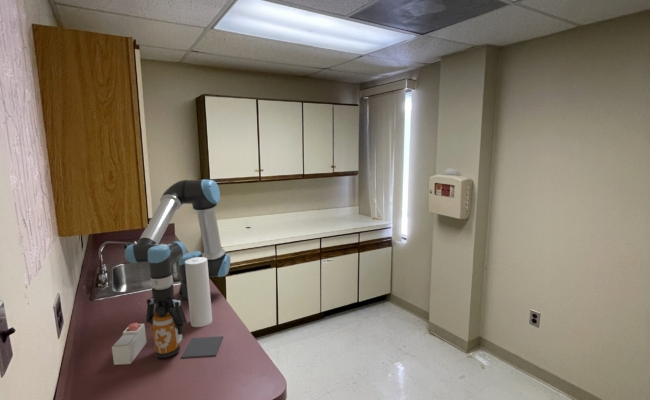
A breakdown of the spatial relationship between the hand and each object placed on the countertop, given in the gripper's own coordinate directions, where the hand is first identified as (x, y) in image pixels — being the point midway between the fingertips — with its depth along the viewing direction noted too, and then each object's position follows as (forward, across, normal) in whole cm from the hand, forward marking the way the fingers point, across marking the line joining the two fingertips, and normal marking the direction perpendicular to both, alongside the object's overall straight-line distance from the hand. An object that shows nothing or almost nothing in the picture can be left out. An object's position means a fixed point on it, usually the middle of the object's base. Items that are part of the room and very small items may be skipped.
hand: (168, 340), depth 136 cm
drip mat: (+5, +11, +5) cm, 14 cm away
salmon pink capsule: (+3, -16, 0) cm, 16 cm away
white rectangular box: (+5, -15, -4) cm, 16 cm away
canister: (+5, 0, 0) cm, 5 cm away
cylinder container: (+5, -1, +24) cm, 24 cm away
